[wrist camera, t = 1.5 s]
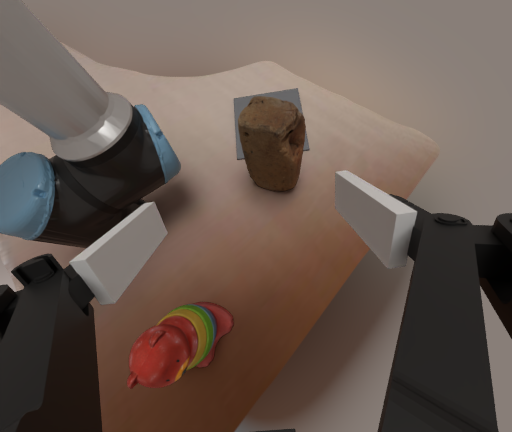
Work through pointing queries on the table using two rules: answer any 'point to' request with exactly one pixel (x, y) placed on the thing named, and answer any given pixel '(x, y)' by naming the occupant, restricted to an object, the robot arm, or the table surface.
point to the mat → (284, 95)
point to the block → (272, 142)
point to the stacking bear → (178, 344)
